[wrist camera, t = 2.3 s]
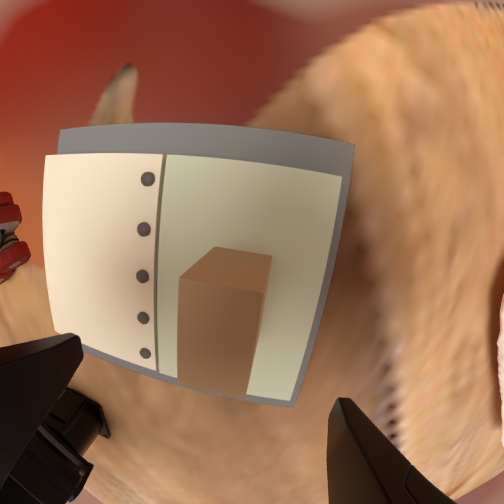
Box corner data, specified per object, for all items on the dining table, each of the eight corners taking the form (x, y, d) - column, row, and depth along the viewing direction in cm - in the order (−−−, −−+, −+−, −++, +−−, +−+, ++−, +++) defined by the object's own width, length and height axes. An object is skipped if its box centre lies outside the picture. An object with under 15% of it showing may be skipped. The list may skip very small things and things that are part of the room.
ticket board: (293, 395, 19) (293, 421, 17) (76, 336, 21) (58, 350, 18) (349, 147, 15) (361, 140, 12) (72, 131, 17) (47, 128, 14)
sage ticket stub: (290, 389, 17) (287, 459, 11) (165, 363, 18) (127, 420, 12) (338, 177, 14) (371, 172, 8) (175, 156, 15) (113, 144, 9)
